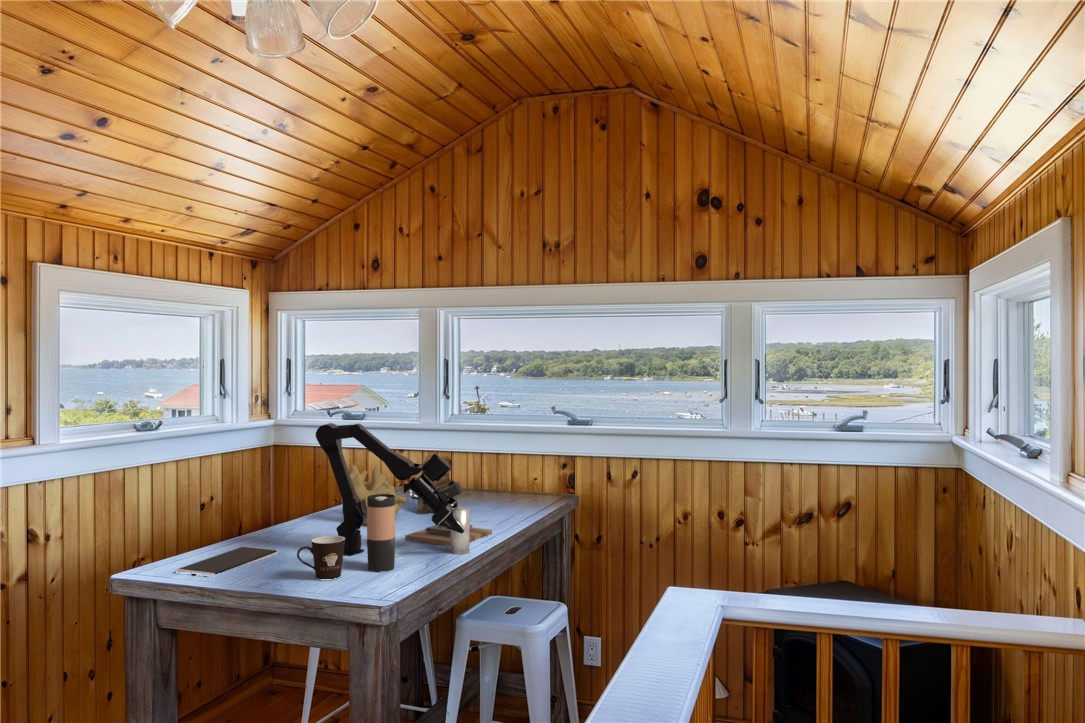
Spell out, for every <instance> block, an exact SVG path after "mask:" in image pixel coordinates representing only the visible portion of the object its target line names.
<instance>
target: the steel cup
mask: <svg viewBox="0 0 1085 723" xmlns="http://www.w3.org/2000/svg"><path fill="white" fill-rule="evenodd" d="M453 509H454V517H455V518H456V520H457V521H458V523H459V524H460V525H461V527H462V528H463V530H464V532H463V533H462V534H461V533H458V532H456V531H453V530H451V546H450V553H451V554H453V555H459V556H460V555H467V554H470V543H469V534H470V525H471V524H470V521H471V520H470V518H471V517H470V513H471V512H470V510H471V509H470V507H467V506H466V507H465V506H458V507H455V508H452V510H453ZM452 510H451V511H452Z"/></svg>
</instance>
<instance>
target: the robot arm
mask: <svg viewBox="0 0 1085 723" xmlns="http://www.w3.org/2000/svg"><path fill="white" fill-rule="evenodd" d="M352 438H353V439H355V440H356V441H357V442H358V443H360V444H361V445H362V446H363V447H365V448H366V449H367V450H369V451H370V452H371V453H372V454H373V455H374V456H376V457H377V458H378V459H379V460H380V461H382V462H383V463H384V465H385V466H386V467H387V469H388V470H389V472H390V474H392V475H393V476H394V477H395V478H396V479H397V480H399V481H407V480H409V481H408V482H404V483H402V486H403V494H406V493H407V492H408V491H409V490H410V491H412V492H413V494H414V495H416V496H417V498H418V499H419V498H420V499H421V500H422V501H423V504H424V505H425V504H426V505H427V506H428V507H429V508H430V509H431V510H432V511H433V512H432V513H433V514H432V516H431V522H432V523H433V524H434V525H438V524H439V525H438V526H442V527H445V528H448V529H450V530H453V531H456V532H458V533H461V534H462V533H463V532H464V530H463V528H462V527H461V525H460V524H459V523H458V521H457V520H456V518H455V517H454V509H453V510H452V508H455V507H459V506H458V504H459V502H458V498H457V497H455V496H460V495H461V494H462V493H463V491H464V489H463V488H462V485H461V483H460V482H459V481H455V480H453V479H452V480H451V481H450V482H449V483H448V487H446V488H444V489H441V488H440V487H437V488H436V487H435V486H434V485H433V484H432V483H431V482H430V481H429V480H428V479H427V478H426V477H425V476H424V474H425V475H426V476H427V477H428V478H429V479H430V480H431V481H433V482H434V481H435V480H436V481H439V480H440V479H441V478H442V477H443V476H444V475H445V474H446V473H447V472H448V471H449V472H450V471H451V470H452V465H451V464H450V463H448V462H447V461H448V460H447V459H446V458H445V459H446V460H447V461H446V460H445V459H444V458H443V457H441V456H440V455H439V454H438V453H437V452H434V453H433V454H432V455H431V458H430V459H429V460H428V461H427V462H426V461H425V462H426V463H425V462H424V464H423V463H416V462H414V461H412V459H410V458H409V457H406V456H404V455H402V454H401V453H400V454H399V453H398V452H396V451H394V450H392V449H391V448H390V447H388V445H386V443H383V442H382V441H381V440H380V439H378V437H376V436H375V435H374V434H373V433H371V431H369V430H368V429H366V428H365V427H364V425H363V424H361V423H353V424H344V425H343V424H342V425H338V424H335V423H331V422H329V423H326V424H325V423H324V424H322V425H320V426H319V427H318V428H317V429H316V431H315V439H316V441H317V443H318V444H319V446H320V448H321V449H322V451H323V452H324V453H325V454H326V456H327V458H328V461H329V464H330V467H331V470H332V473H333V476H334V479H335V482H336V484H337V487H338V491H339V494H340V497H341V500H342V501H341V502H342V515H343V521H342V522H340V524H339V525H338V526H337V527H336V528H335V529H336V532H337V536H341V537H344V538H345V544H344V553H343V556H354V555H356V554H359V553H364V552H365V548H364V549H363V548H362V534H361V527H362V526H363V524H365V523H364V522H365V521H366V520H367V506H366V501H365V498H364V499H362V500H360V499H359V497H358V496H357V495H356V492H355V489H354V486H353V483H352V480H351V477H350V470H349V469H348V465H347V462H346V460H345V456H344V454H343V448H342V447H343V446H342V442H343V441H342V440H344V439H345V440H346V439H352ZM423 471H424V472H423ZM421 472H422V473H421ZM420 473H421V474H420ZM419 474H420V475H419ZM417 475H419V476H418V477H417ZM410 478H411V479H410ZM451 510H452V511H451Z"/></svg>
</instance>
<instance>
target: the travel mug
mask: <svg viewBox="0 0 1085 723" xmlns="http://www.w3.org/2000/svg"><path fill="white" fill-rule="evenodd" d="M366 546H367V547H366V549H367V552H366V553H367V570H368V571H369V570H370V571H369V572H372V571H377V572H376V573H380V572H379V571H386V572H390V571H394V569H395V562H396V560H395V558H396V556H395V555H396V553H395V552H396V515H395V495H392V494H375V495H370V496H368V497H367V525H366ZM389 570H390V571H389Z"/></svg>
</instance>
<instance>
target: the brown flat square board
mask: <svg viewBox="0 0 1085 723" xmlns="http://www.w3.org/2000/svg"><path fill="white" fill-rule="evenodd" d="M438 525H439V524H438ZM438 525H436V524H434V525H430V526H428V527H426V528H424V529H422V530H418V531H415V532H412V533H409V534H405V538H404V539H405V541H409V542H410V541H411V542H417V543H422V544H423V543H425V544H432V545H437V546H445V547H451V530H450V529H448V528H445V527H442V526H438ZM489 534H492V535H493V530H492V529H489V528H481V527H473V524H470V534H469V544H470V543H473V542H475V541H474V540H476V539H478V540H480V539H479V538H481V539H483V538H482V537H484V536H486V537H488V536H487V535H489ZM489 536H490V535H489ZM484 538H485V537H484ZM472 541H473V542H472ZM476 541H477V540H476Z"/></svg>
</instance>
